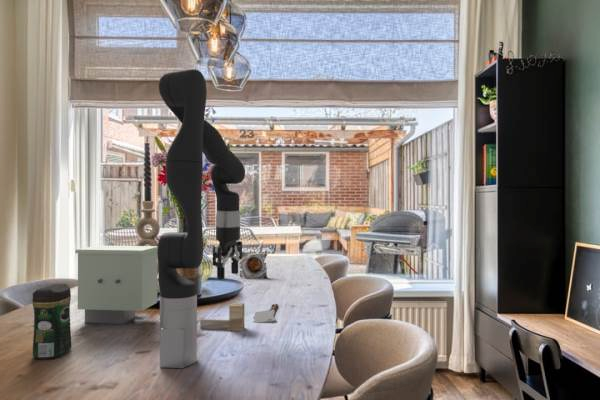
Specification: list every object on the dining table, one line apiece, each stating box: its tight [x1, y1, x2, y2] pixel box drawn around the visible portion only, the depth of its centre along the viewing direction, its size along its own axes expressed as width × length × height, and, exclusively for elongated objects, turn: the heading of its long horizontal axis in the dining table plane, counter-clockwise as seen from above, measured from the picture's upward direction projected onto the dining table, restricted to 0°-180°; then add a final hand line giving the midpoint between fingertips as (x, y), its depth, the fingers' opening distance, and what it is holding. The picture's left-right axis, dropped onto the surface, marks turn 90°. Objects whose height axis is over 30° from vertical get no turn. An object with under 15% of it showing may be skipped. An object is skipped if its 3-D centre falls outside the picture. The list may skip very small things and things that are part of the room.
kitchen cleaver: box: [252, 303, 279, 324], centre depth 163 cm, size 24×1×10 cm
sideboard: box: [75, 245, 158, 325], centre depth 152 cm, size 14×23×25 cm, turn 84°
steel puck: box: [132, 314, 150, 325], centre depth 153 cm, size 5×5×2 cm
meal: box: [238, 252, 268, 279], centre depth 239 cm, size 15×4×13 cm, turn 82°
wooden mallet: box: [199, 302, 245, 332], centre depth 145 cm, size 4×14×8 cm, turn 84°
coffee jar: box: [31, 283, 72, 360], centre depth 121 cm, size 10×8×19 cm
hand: (228, 276), depth 141 cm, fingers open, 8 cm apart
